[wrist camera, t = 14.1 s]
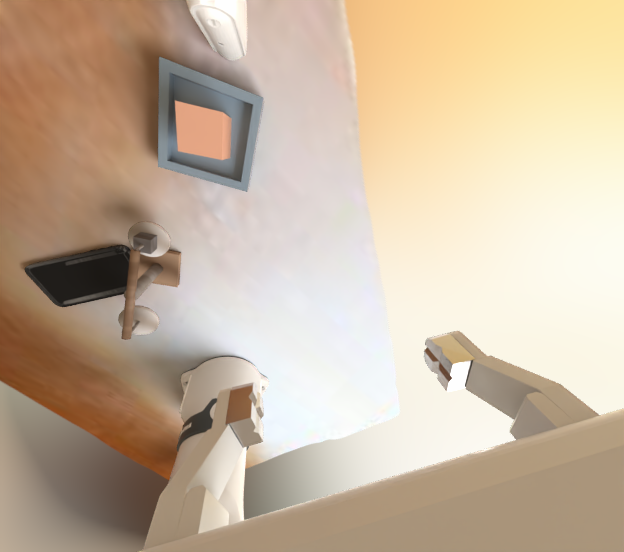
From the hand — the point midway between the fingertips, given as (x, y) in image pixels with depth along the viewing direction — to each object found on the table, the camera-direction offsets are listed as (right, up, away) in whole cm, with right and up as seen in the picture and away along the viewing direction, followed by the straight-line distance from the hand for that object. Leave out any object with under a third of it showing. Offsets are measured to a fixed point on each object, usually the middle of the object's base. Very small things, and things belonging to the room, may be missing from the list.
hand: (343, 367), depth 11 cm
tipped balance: (-26, +6, +27) cm, 38 cm away
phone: (-37, +5, +27) cm, 45 cm away
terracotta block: (-14, +22, +19) cm, 33 cm away
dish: (-14, +23, +20) cm, 33 cm away
